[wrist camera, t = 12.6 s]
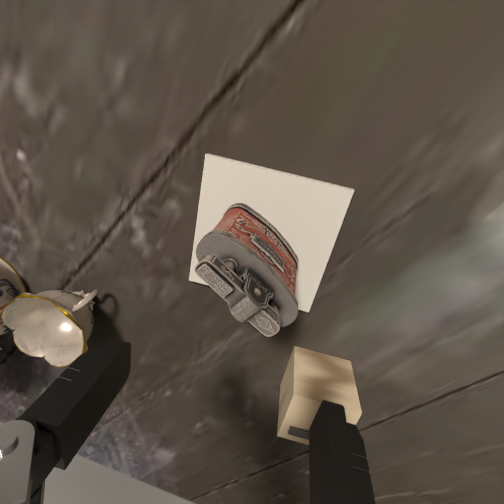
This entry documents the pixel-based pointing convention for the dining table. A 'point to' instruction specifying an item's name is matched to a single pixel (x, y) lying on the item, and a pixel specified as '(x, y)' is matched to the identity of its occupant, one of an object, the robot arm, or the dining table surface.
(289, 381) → the letter block
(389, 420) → the dining table surface
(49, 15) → the dining table surface
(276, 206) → the pad
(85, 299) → the chinaware
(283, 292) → the lighter
